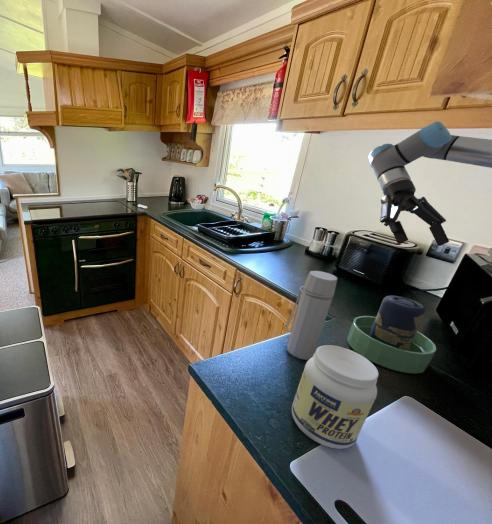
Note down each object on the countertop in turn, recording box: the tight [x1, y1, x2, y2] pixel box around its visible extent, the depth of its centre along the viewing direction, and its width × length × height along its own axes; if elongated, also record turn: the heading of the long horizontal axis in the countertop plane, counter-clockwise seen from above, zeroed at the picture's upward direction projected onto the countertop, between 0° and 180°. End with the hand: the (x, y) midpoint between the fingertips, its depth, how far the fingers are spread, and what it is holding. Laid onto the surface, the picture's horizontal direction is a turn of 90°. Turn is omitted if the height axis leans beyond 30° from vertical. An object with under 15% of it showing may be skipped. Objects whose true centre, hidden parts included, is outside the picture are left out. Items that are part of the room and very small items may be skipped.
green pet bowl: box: [346, 315, 437, 375], centre depth 87 cm, size 19×19×7 cm
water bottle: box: [285, 270, 338, 361], centre depth 81 cm, size 9×8×25 cm
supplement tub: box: [291, 344, 379, 450], centre depth 59 cm, size 12×12×17 cm
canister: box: [369, 295, 426, 351], centre depth 85 cm, size 10×10×18 cm
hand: (423, 243), depth 86 cm, fingers open, 13 cm apart
